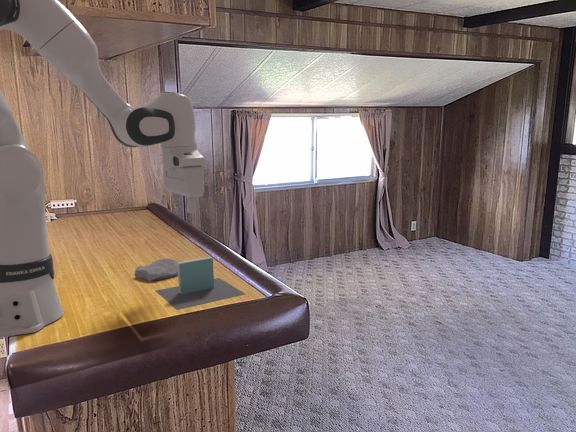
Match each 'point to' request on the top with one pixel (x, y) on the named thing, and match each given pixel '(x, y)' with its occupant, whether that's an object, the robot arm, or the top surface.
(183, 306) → the mat
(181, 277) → the tile
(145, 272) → the stone block
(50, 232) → the top surface
